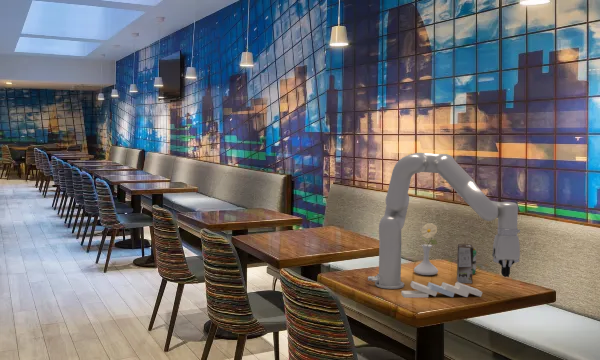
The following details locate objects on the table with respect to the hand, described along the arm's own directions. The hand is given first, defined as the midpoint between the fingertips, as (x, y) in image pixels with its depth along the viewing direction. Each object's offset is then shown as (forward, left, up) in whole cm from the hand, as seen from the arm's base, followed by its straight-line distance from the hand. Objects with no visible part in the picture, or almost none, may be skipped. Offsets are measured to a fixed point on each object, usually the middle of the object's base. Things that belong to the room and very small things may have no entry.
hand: (505, 276), depth 245 cm
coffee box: (-9, +24, -8) cm, 27 cm away
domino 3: (-22, 0, -7) cm, 24 cm away
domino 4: (-17, 0, -7) cm, 18 cm away
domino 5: (-11, 0, -7) cm, 13 cm away
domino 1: (-33, 0, -8) cm, 34 cm away
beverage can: (-3, +38, -8) cm, 39 cm away
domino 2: (-30, 0, -7) cm, 30 cm away
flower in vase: (-23, +36, -8) cm, 44 cm away
